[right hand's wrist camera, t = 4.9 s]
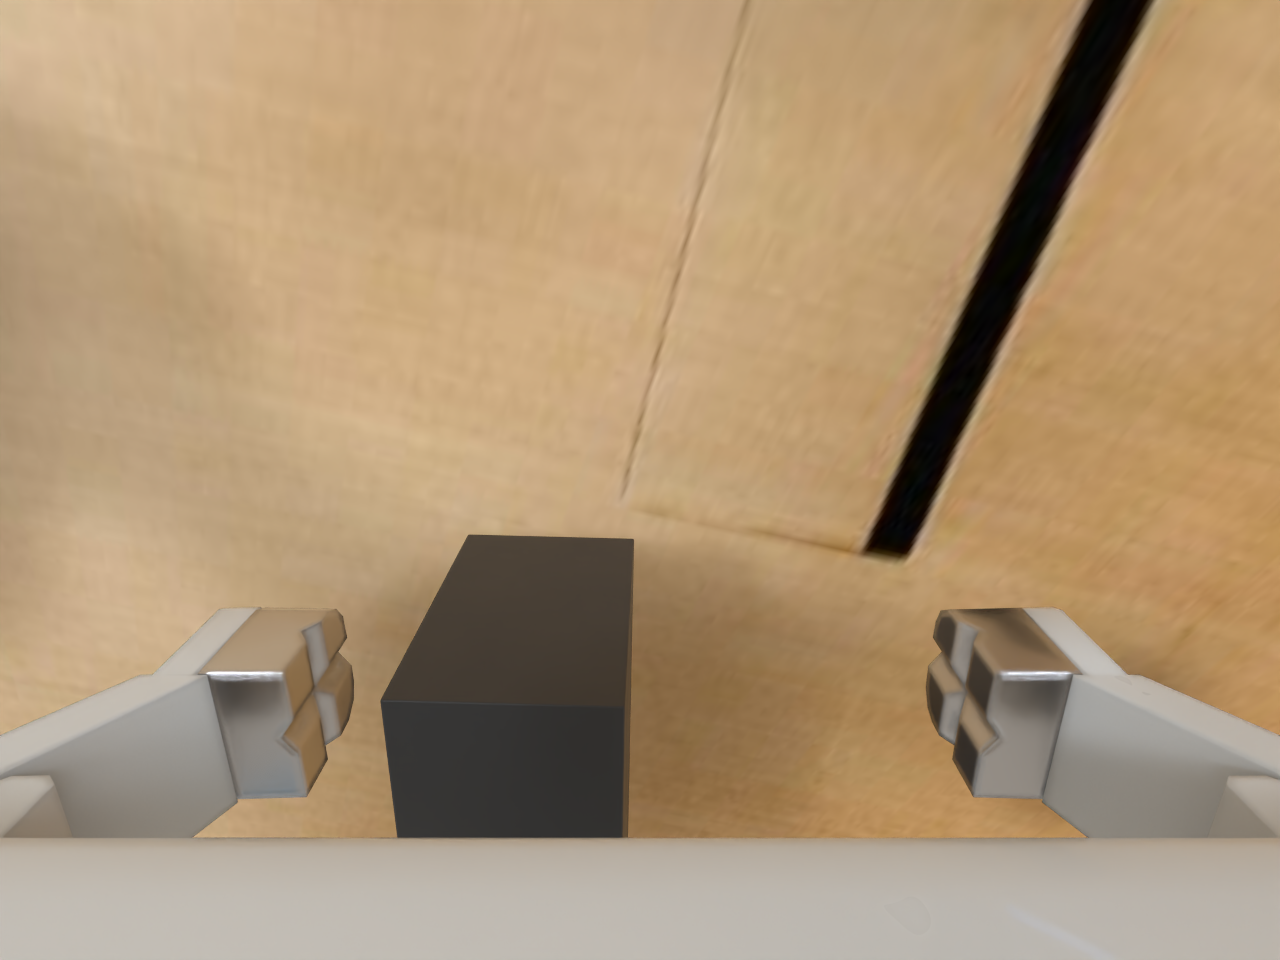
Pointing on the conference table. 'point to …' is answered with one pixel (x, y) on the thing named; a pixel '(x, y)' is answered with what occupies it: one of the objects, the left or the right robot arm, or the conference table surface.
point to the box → (517, 695)
